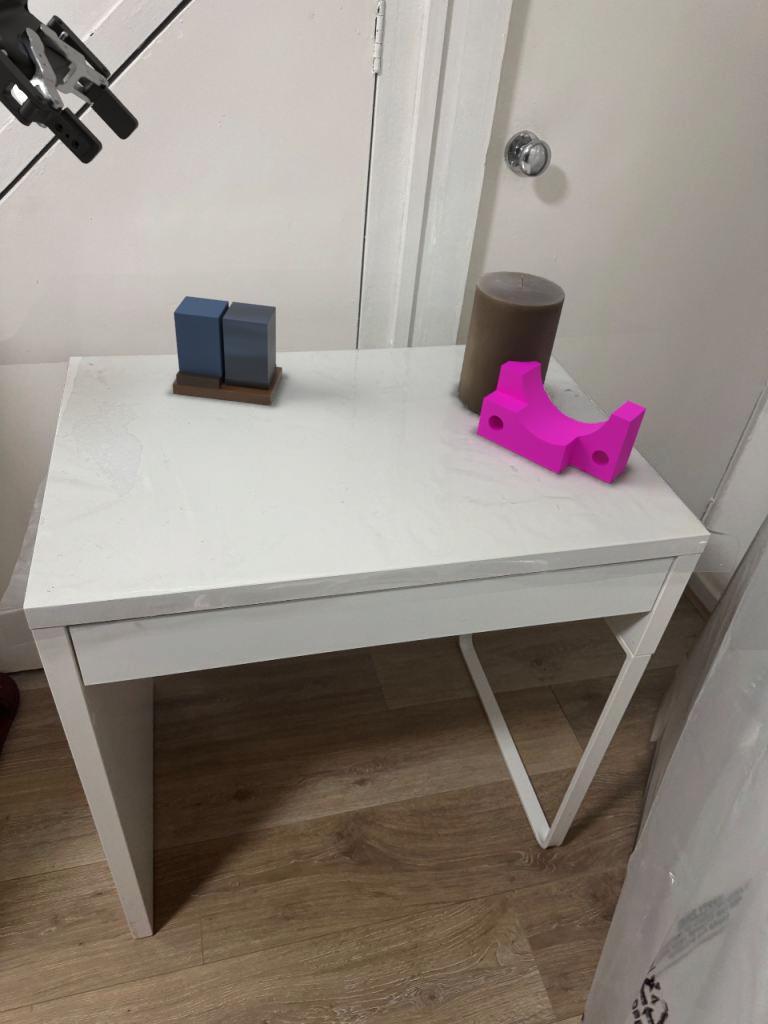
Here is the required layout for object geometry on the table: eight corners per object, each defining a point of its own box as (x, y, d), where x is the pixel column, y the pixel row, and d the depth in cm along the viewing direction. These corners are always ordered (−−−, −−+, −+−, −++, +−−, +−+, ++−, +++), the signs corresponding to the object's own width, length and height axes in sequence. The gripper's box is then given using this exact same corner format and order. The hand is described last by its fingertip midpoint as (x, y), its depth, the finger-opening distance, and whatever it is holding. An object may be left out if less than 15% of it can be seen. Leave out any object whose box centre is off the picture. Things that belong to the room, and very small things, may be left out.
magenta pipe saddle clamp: (476, 433, 84) (488, 373, 79) (507, 413, 88) (520, 354, 83) (598, 493, 77) (618, 431, 72) (625, 468, 81) (646, 408, 76)
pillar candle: (511, 429, 85) (540, 302, 75) (441, 396, 89) (460, 272, 80) (553, 399, 91) (585, 278, 82) (486, 369, 95) (509, 251, 86)
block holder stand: (270, 405, 85) (269, 329, 79) (173, 393, 85) (165, 316, 79) (282, 376, 90) (282, 302, 84) (190, 365, 90) (184, 290, 84)
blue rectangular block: (222, 384, 85) (218, 318, 80) (179, 379, 85) (172, 312, 80) (232, 365, 88) (229, 300, 83) (190, 360, 89) (185, 295, 84)
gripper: (-81, -72, 51) (110, 133, 58) (17, -75, 62) (168, 97, 69) (-132, 13, 55) (54, 196, 62) (-30, -5, 66) (118, 153, 73)
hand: (114, 144), depth 65 cm, fingers open, 8 cm apart
